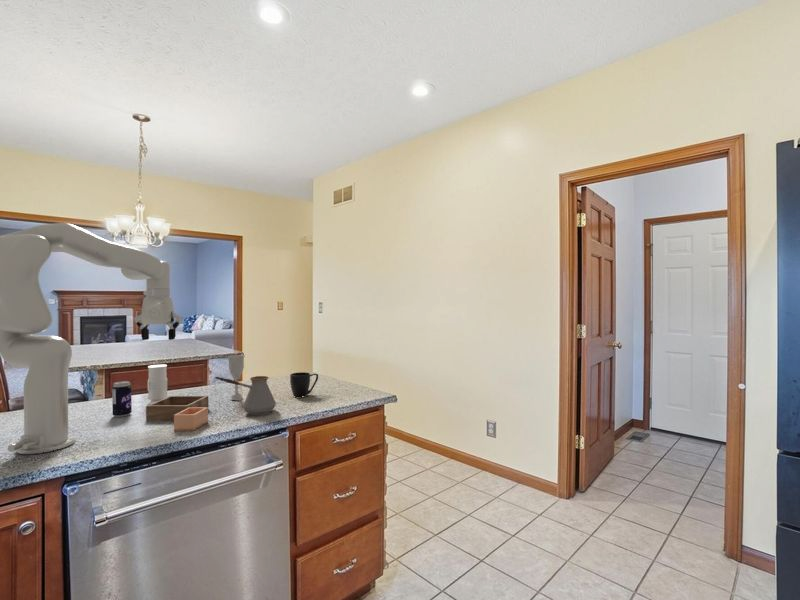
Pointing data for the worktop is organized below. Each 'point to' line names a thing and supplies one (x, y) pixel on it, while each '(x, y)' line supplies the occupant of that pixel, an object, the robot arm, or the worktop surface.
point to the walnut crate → (173, 406)
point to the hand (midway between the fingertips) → (158, 339)
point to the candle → (157, 383)
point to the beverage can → (121, 398)
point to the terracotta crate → (190, 419)
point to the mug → (301, 383)
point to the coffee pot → (256, 396)
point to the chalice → (236, 372)
